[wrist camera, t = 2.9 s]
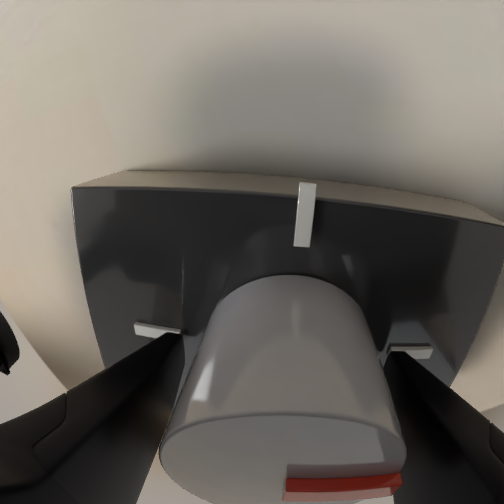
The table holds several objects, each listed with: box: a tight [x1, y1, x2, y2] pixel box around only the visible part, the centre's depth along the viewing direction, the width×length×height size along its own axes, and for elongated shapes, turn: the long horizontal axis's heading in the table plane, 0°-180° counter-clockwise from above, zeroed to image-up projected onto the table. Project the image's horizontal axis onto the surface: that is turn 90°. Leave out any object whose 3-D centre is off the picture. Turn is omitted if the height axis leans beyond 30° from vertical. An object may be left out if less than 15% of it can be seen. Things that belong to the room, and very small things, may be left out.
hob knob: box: [159, 275, 407, 504], centre depth 6 cm, size 4×4×4 cm
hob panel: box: [71, 171, 504, 415], centre depth 9 cm, size 12×9×3 cm
